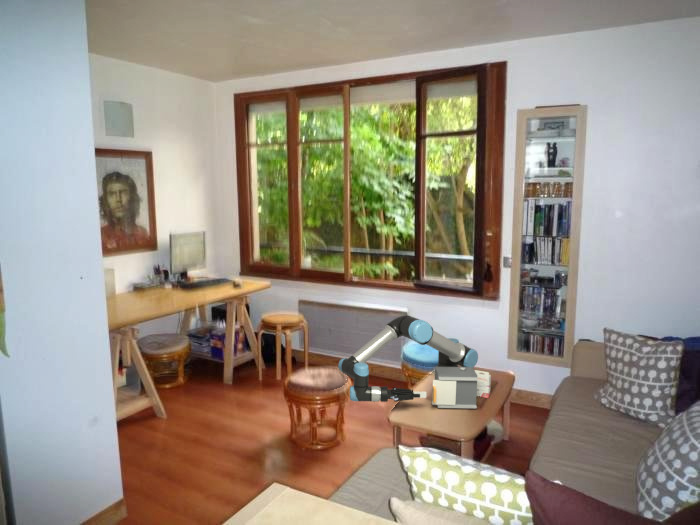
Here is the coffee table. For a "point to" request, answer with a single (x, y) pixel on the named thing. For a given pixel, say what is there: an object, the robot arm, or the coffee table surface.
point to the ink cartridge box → (483, 384)
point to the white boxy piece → (444, 392)
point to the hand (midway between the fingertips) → (426, 394)
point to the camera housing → (460, 385)
